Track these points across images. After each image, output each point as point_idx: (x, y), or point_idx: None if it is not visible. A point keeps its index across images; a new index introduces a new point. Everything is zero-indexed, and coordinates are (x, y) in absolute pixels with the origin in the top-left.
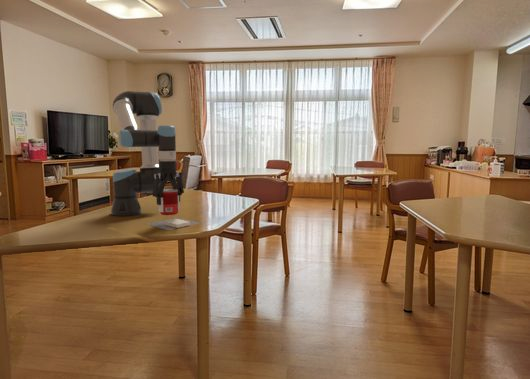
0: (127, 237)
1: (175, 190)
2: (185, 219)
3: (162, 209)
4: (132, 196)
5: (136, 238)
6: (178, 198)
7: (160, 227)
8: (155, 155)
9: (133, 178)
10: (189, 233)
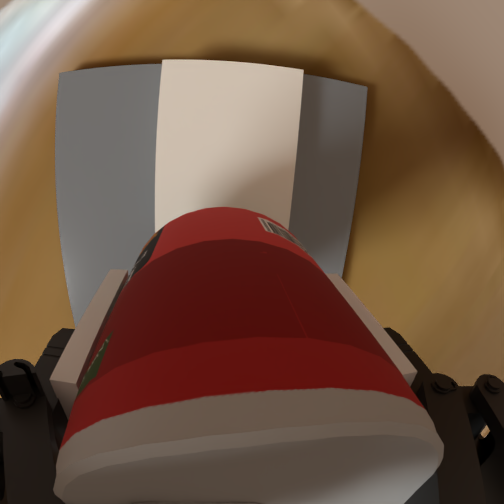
0: (491, 210)
1: (185, 436)
2: (65, 262)
3: (341, 287)
4: None
5: (488, 161)
6: (77, 348)
7: (347, 193)
8: None
9: None
10: None
